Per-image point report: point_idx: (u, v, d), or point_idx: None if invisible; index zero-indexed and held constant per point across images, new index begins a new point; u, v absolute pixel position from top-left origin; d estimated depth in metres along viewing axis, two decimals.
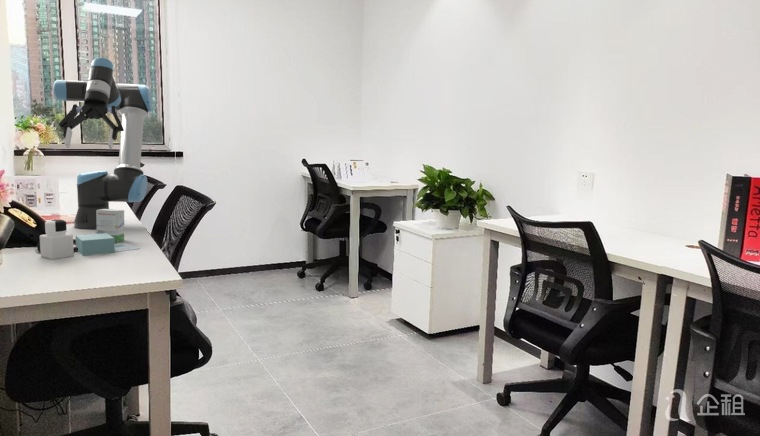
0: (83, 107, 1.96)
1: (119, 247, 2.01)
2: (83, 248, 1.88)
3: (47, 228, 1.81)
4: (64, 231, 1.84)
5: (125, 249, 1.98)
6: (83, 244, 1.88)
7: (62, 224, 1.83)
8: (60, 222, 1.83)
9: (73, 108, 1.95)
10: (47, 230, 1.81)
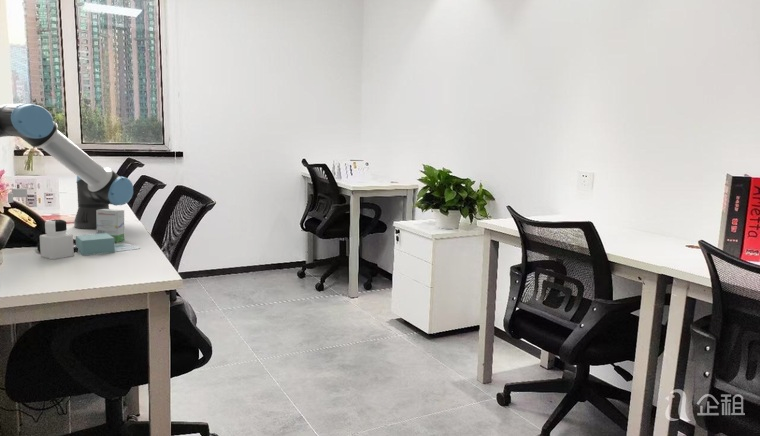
0: None
1: (119, 247, 2.01)
2: (83, 248, 1.88)
3: (47, 228, 1.81)
4: (64, 231, 1.84)
5: (125, 249, 1.98)
6: (83, 244, 1.88)
7: (62, 224, 1.83)
8: (60, 222, 1.83)
9: None
10: (47, 230, 1.81)
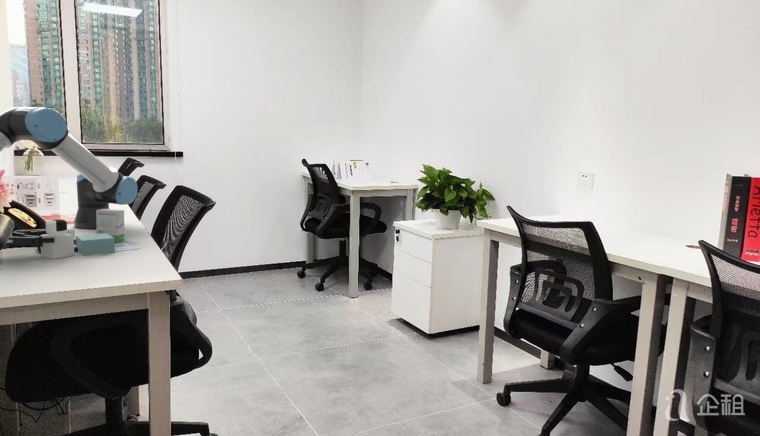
0: None
1: (119, 247, 2.01)
2: (83, 248, 1.88)
3: (48, 228, 1.82)
4: (65, 231, 1.84)
5: (125, 249, 1.98)
6: (83, 244, 1.88)
7: (63, 224, 1.83)
8: (61, 222, 1.83)
9: None
10: (48, 230, 1.82)
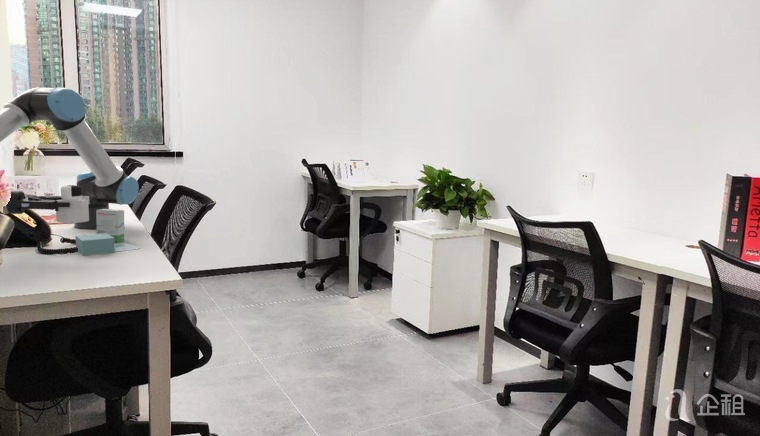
0: None
1: (119, 247, 2.01)
2: (83, 248, 1.88)
3: (63, 193, 1.83)
4: (80, 196, 1.86)
5: (125, 249, 1.98)
6: (83, 244, 1.88)
7: (78, 189, 1.85)
8: (76, 187, 1.85)
9: None
10: (63, 195, 1.84)
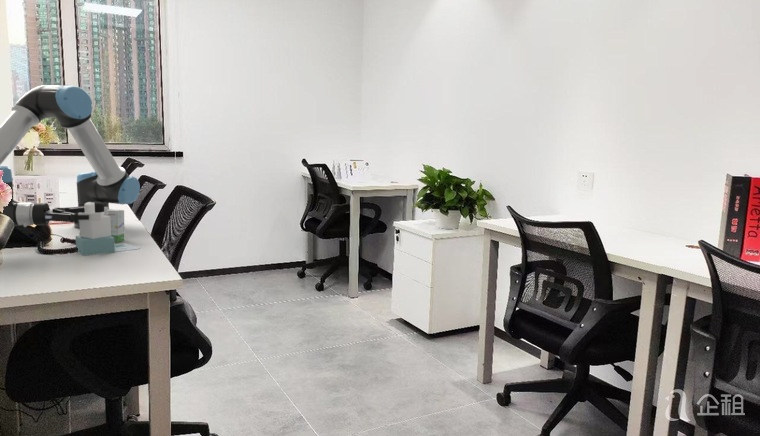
0: None
1: (119, 247, 2.01)
2: (83, 248, 1.88)
3: (87, 209, 1.90)
4: (102, 212, 1.93)
5: (125, 249, 1.98)
6: (83, 244, 1.88)
7: (101, 205, 1.92)
8: (99, 204, 1.91)
9: None
10: (87, 211, 1.90)
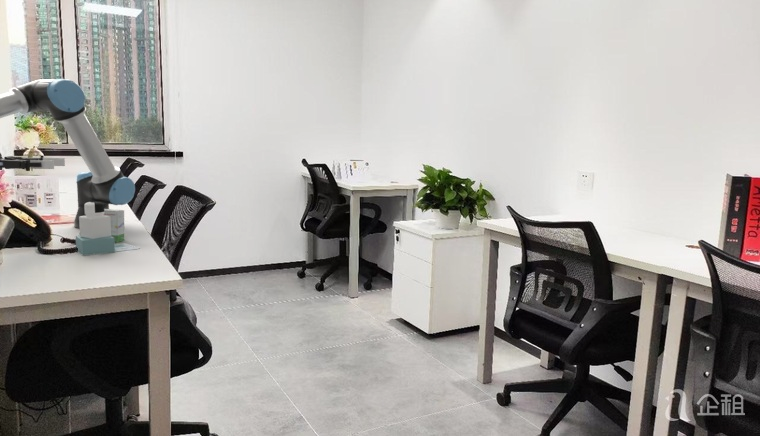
0: None
1: (119, 247, 2.01)
2: (83, 248, 1.88)
3: (87, 209, 1.90)
4: (102, 212, 1.93)
5: (125, 249, 1.98)
6: (83, 244, 1.88)
7: (101, 206, 1.92)
8: (99, 204, 1.91)
9: None
10: (87, 211, 1.90)
